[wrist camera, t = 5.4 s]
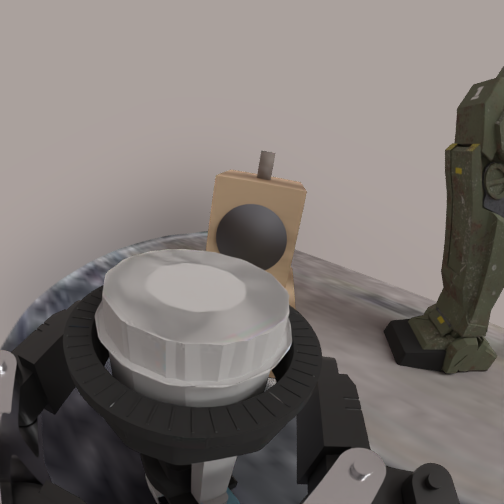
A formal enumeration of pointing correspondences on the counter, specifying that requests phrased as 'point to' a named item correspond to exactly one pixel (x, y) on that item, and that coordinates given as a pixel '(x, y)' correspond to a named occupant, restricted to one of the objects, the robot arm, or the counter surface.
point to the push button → (191, 365)
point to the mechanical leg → (465, 245)
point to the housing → (257, 220)
